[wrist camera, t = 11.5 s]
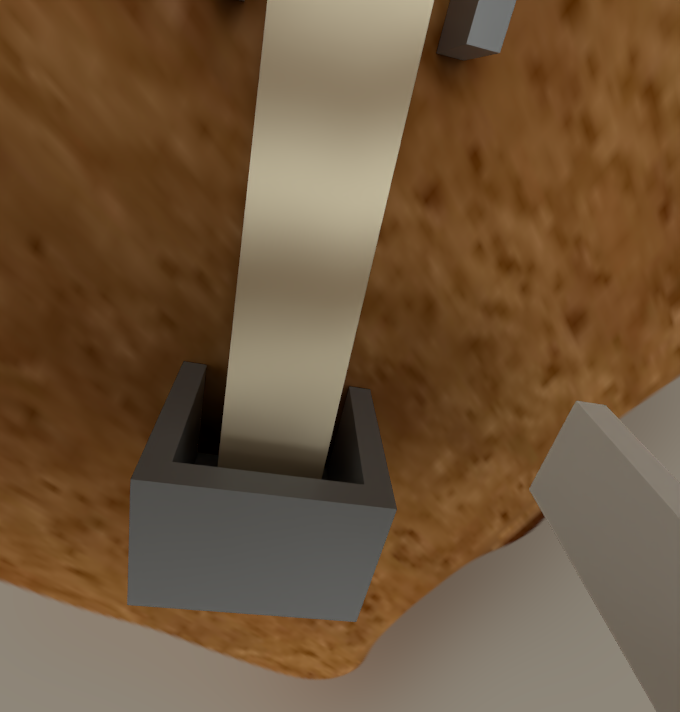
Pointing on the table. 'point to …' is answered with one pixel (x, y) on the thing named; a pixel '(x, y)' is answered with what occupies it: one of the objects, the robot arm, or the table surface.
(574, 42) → the table surface
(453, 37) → the grey u-shaped bracket
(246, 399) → the slat
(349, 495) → the open grey box
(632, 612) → the robot arm
